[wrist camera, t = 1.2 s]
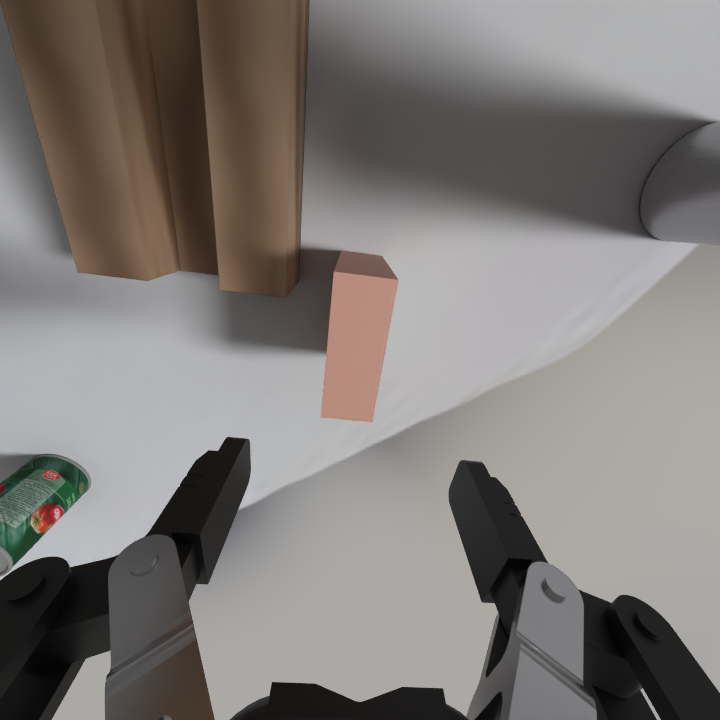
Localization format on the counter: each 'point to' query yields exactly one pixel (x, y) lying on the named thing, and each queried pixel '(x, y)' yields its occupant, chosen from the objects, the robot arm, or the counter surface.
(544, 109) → the counter surface
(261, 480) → the counter surface
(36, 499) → the canned tomato
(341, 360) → the pink rectangular block
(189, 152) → the book stand
